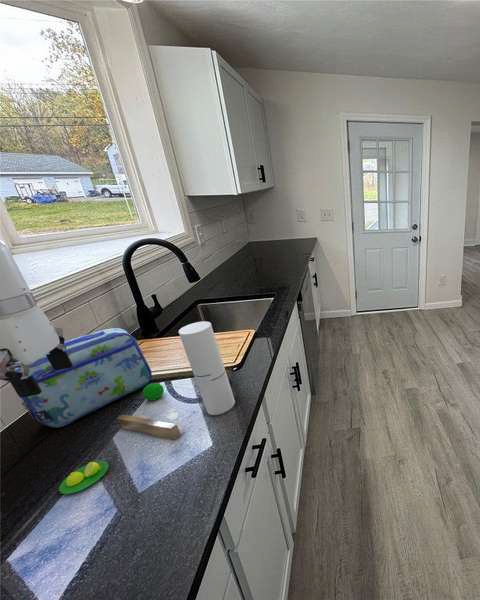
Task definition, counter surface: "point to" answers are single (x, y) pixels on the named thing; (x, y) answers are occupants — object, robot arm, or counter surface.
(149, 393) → the polyhedron
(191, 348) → the cylindrical container
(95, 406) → the lunch box
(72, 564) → the counter surface
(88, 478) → the plate of yellow fruit
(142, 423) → the rail
